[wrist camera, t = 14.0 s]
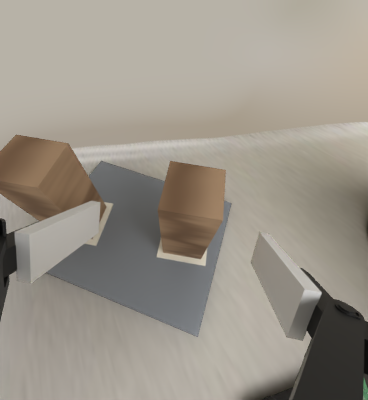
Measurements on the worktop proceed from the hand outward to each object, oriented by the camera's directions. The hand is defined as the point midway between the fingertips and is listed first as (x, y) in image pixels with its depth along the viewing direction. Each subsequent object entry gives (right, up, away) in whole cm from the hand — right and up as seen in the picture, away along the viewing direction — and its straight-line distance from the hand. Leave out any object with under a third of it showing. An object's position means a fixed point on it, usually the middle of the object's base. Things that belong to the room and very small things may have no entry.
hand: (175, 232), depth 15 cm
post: (+1, -3, +10) cm, 11 cm away
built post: (-13, 0, +11) cm, 17 cm away
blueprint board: (-6, -2, +12) cm, 13 cm away
